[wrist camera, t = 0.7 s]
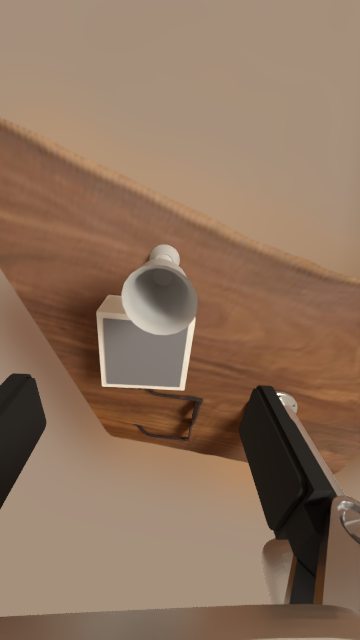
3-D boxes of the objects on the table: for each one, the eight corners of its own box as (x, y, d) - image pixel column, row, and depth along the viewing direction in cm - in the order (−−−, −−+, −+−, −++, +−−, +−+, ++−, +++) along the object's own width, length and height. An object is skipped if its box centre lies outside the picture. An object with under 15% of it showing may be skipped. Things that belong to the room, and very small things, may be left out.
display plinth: (182, 365, 46) (184, 391, 40) (111, 361, 45) (101, 387, 39) (191, 301, 40) (195, 320, 33) (108, 294, 38) (95, 312, 32)
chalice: (134, 257, 35) (105, 298, 19) (164, 227, 34) (159, 246, 18) (164, 288, 38) (161, 347, 22) (194, 263, 36) (213, 306, 20)
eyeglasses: (189, 429, 57) (190, 448, 53) (132, 425, 55) (129, 444, 51) (201, 390, 51) (204, 407, 46) (138, 383, 49) (134, 400, 44)
